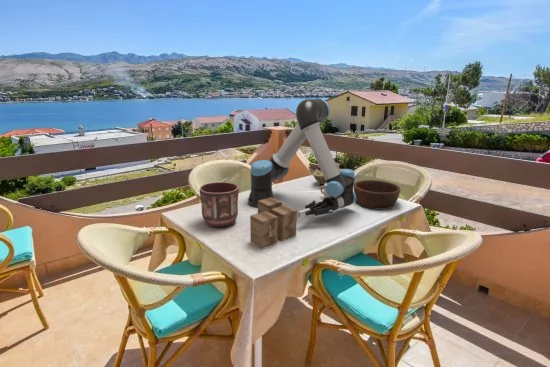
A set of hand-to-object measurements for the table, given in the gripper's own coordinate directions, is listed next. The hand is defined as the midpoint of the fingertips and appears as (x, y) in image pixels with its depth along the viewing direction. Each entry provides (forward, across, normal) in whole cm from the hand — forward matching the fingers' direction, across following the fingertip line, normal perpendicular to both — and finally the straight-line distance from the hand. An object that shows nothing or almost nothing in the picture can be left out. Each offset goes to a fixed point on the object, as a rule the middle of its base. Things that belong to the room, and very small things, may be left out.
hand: (299, 214), depth 143 cm
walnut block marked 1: (+20, 0, -7) cm, 22 cm away
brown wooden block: (+9, 0, -7) cm, 12 cm away
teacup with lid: (-42, +18, -8) cm, 47 cm away
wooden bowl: (-58, -3, -7) cm, 59 cm away
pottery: (+24, +29, -8) cm, 38 cm away
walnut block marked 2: (+7, +12, -8) cm, 16 cm away
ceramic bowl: (-62, +37, -8) cm, 73 cm away
